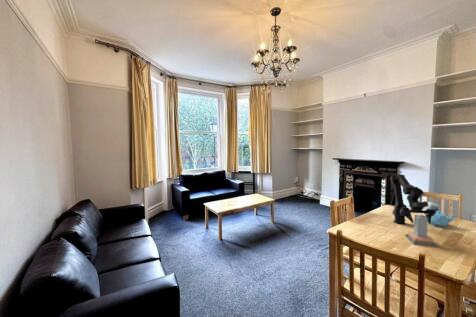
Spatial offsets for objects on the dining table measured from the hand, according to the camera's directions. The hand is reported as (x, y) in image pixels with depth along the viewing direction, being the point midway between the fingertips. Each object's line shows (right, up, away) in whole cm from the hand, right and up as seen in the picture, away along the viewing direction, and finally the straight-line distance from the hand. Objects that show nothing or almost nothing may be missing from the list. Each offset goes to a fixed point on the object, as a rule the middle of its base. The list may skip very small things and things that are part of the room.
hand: (421, 223), depth 139 cm
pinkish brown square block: (+1, -12, +2) cm, 13 cm away
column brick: (0, -8, +2) cm, 9 cm away
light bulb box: (+50, -8, +48) cm, 69 cm away
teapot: (+37, -10, +26) cm, 46 cm away
